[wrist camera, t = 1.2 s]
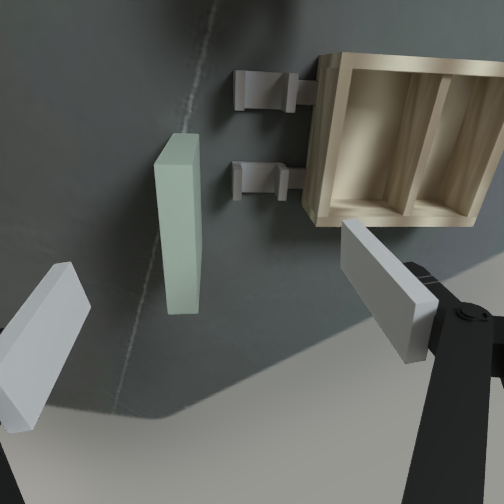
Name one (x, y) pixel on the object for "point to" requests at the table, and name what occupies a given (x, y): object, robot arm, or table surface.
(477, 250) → the table surface
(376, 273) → the robot arm
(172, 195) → the block
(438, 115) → the wooden divided box
